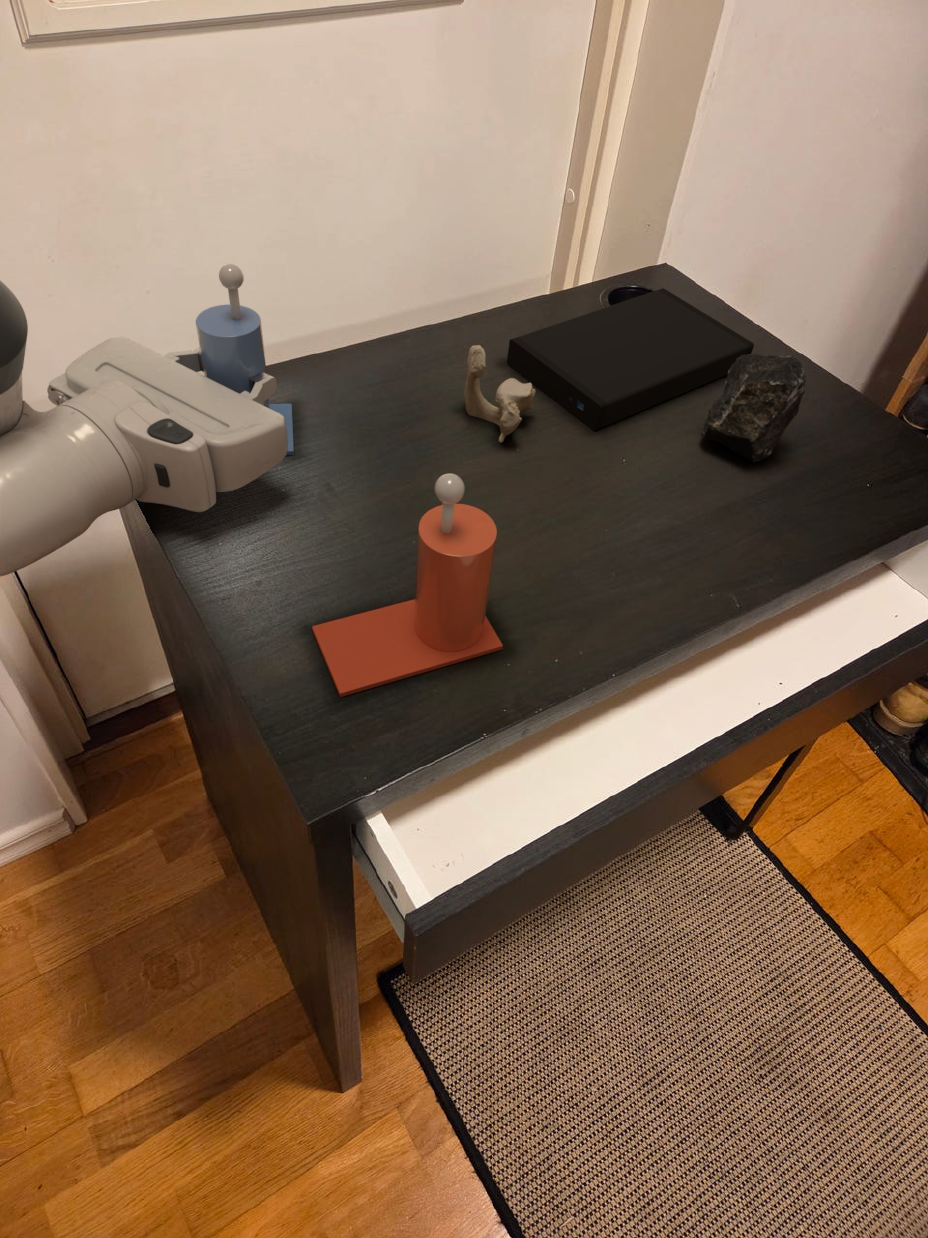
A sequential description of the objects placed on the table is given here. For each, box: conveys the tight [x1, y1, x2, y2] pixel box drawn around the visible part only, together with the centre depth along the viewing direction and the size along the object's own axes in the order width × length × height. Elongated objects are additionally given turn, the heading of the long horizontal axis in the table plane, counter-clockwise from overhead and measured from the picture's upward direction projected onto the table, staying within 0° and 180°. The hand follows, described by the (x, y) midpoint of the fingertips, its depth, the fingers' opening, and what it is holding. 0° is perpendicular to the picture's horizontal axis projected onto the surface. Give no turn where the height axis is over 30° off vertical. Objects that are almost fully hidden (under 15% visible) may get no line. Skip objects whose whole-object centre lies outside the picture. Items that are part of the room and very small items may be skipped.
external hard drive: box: [506, 287, 755, 431], centre depth 93 cm, size 14×23×3 cm, turn 127°
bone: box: [463, 344, 537, 444], centre depth 82 cm, size 9×6×10 cm
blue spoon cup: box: [195, 263, 271, 409], centre depth 74 cm, size 5×5×15 cm
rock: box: [700, 352, 807, 463], centre depth 82 cm, size 8×7×10 cm
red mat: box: [311, 598, 504, 698], centre depth 65 cm, size 13×7×1 cm, turn 114°
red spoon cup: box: [414, 473, 498, 652], centre depth 61 cm, size 5×5×15 cm
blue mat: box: [270, 403, 295, 456], centre depth 81 cm, size 9×8×1 cm
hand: (242, 367), depth 77 cm, fingers closed on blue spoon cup, 5 cm apart
